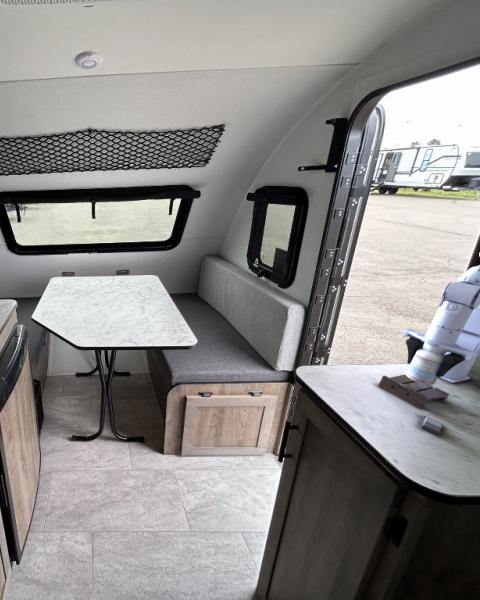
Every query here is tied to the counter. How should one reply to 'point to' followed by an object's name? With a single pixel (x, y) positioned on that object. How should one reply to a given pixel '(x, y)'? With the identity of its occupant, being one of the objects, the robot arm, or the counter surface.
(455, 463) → the counter surface
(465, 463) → the counter surface
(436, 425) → the grey faceted block
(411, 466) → the counter surface
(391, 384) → the brown slab
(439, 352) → the pill bottle
